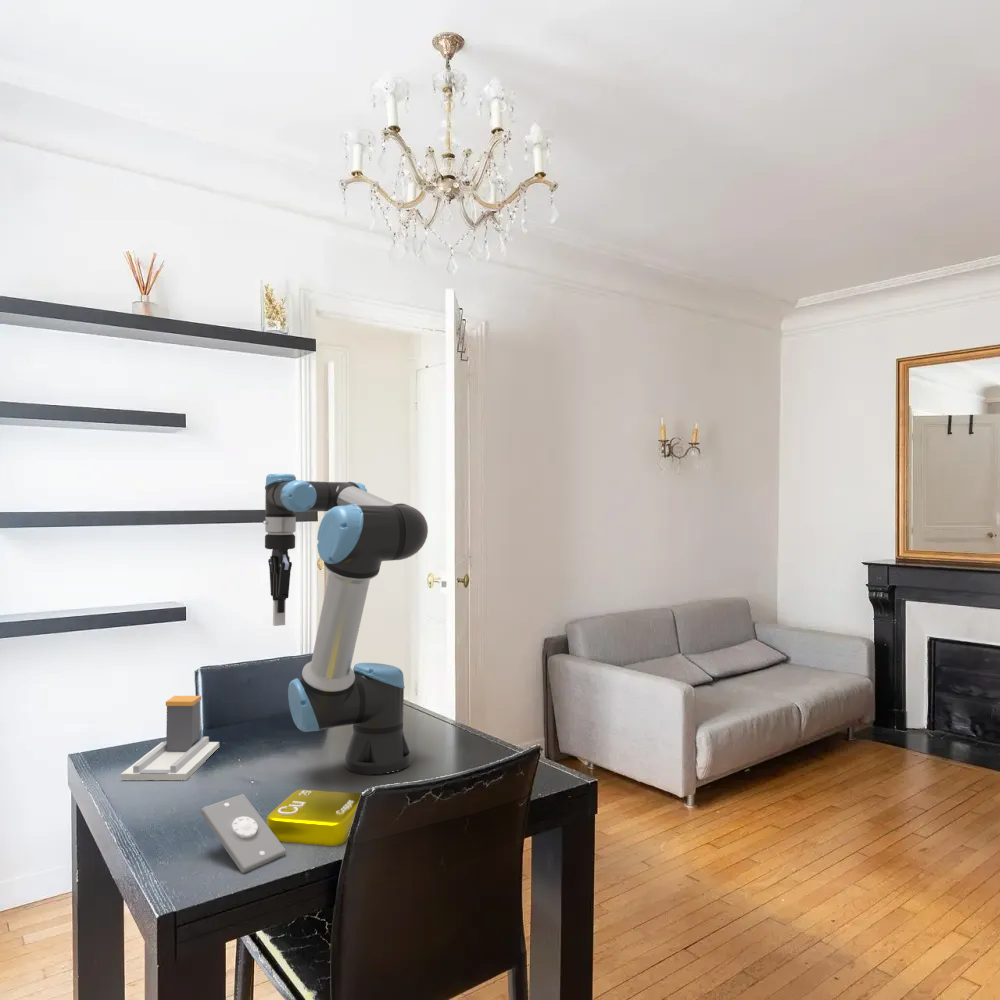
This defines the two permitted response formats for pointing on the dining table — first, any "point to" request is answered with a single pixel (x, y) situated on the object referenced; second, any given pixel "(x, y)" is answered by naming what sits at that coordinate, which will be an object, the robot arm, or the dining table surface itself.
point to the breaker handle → (182, 722)
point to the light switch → (243, 832)
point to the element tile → (314, 817)
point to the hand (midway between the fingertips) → (279, 624)
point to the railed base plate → (171, 762)
